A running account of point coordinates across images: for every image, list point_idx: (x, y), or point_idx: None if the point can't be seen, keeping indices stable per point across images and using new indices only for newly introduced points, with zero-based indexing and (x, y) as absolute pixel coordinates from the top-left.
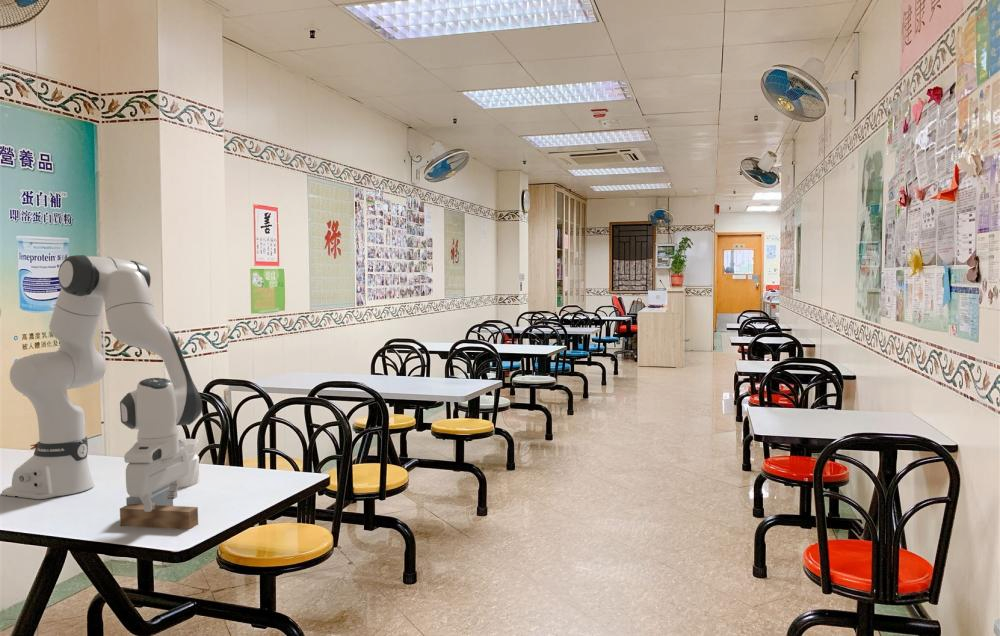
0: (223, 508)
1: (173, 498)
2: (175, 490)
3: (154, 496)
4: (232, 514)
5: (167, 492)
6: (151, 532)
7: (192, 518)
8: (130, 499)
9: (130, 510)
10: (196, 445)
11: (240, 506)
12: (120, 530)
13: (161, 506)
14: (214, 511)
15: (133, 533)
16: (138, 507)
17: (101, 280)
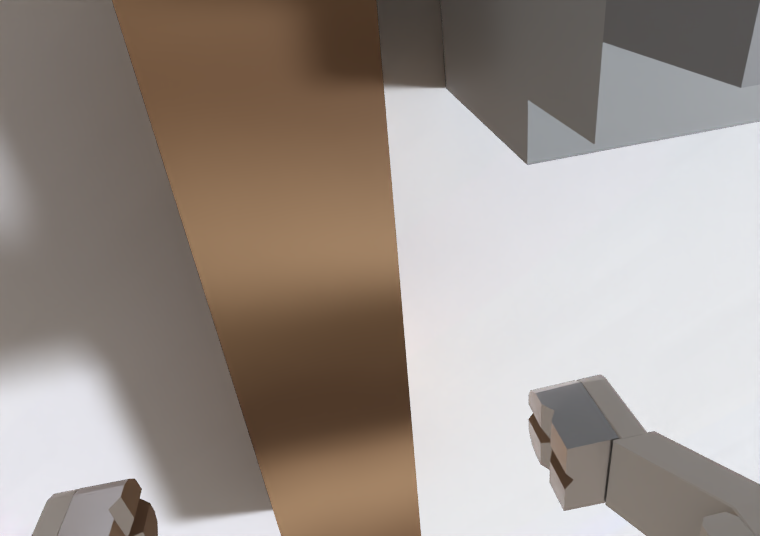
0: (711, 420)
1: (532, 443)
2: (614, 506)
3: (657, 137)
4: (594, 516)
5: (565, 451)
6: (157, 358)
7: None
8: None
9: (157, 126)
10: None
11: (739, 470)
12: (45, 56)
13: (374, 399)
14: (653, 414)
15: (61, 251)
16: (257, 191)
17: None
